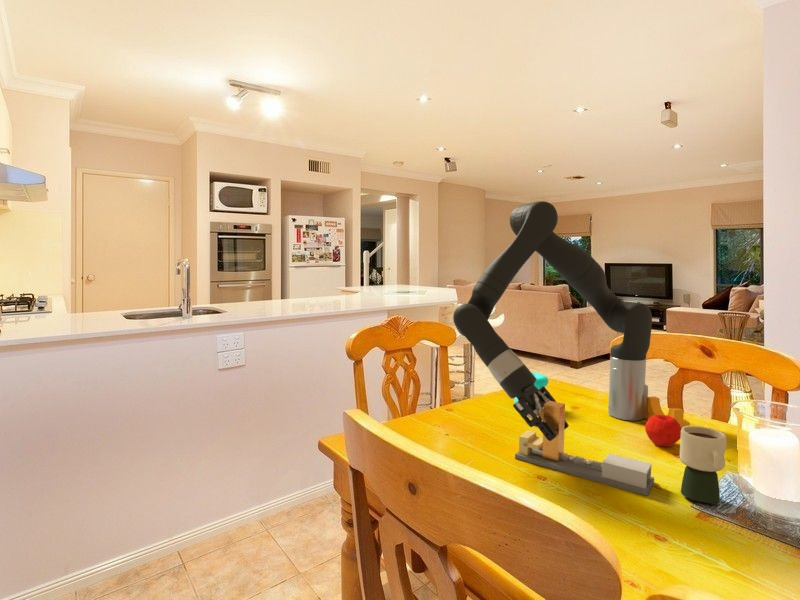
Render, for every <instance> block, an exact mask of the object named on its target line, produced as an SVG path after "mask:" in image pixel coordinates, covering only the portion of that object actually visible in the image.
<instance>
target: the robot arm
mask: <svg viewBox="0 0 800 600" xmlns="http://www.w3.org/2000/svg"><path fill="white" fill-rule="evenodd" d="M556 209H557V208H556V207H555V206H554V205H553V204H552V203H550V202H548V201H545V200H543V201H540V200H538V201H534V202H530V203H525V204H522V205H519V206H516V207H515V208H514V209H513V210H512V211H511V213H510V215H509V225H510V229H511V230H512V232H513V233H514V234H515V236H516V237H515V238H514V239H513V240H512V242H511V243H510V244H509V245H508V246H507V247H506V248H505V249H504V250H503V251H502V252H501V253H500V254H499V255H498V256H497V257H495V258H494V259H493V261H491V263H490V264H489V265H488V266H487V267H486V269H485V270H484V271H483V273H482V274H481V275H480V277H479V279H478V280H477V281H476V283H475V285H474V286H473V289H472V293H471V296H470V297H469V300H468V302H467V303H462V304H460V305H459V306H457V307H456V309H455V310H454V312H453V317H452V320H453V324H454V326H455V328H456V330H457V332H458V333H459V334H460V335H461V336H463V337H465V338H466V339H467V341H468V342H469V343H470V344H471V345H472V347H473V349H474V351H475V353H476V354H477V356H478V358H479V359H480V360H481V362H483V363H484V366H486V368H487V369H488V370H489V372H490V374H491V375H492V378H494V379H495V380H496V382H497V383H498V384H499V386H500V387H501V388H502V389H503V391H504V392H505V393H506V394H507V396H508V397H509V398H510V399H512V400H513V399H515V398H516V397H517V399H518V401H517V402H516V403H513V408H514V409H515V410H516V412H517V413H518V414H519V415H520V417H521V418H522V419H523V420H524V421H525V424H527V425H528V427H530V428H533V427H535V428H537V429H538V430H539V431H540V432H541V434H542V435H543V434H544V436H545V437H546V438H547V439H548V441H551V440H553V439H554V438H555V437H557V434H556V433H555V431H554V430H553V429H552V428H551V426H550V425H549V424H548V423H547V421H546V422H545V419H544V417H543V415H544V404H545V403H547V402H548V401H553V402H557V400H556V399H555V398H554V397H553V396H552V395H551V393H550V392H549V390H548V389H547V388H546V386H545V387H544V386H542V387H541V388H540V389H538V388H536V387H535V386H534V383H535V382H536V378H535V376H534V375H533V374H532V373H533V372H532V371H530V369H529V368H528V367H527V365H526V364H525V363H524V362H523V360H521V358H520V356H518V355H517V354H516V353H515V352H514V351H513V350H512V349H511V348H510V347H509V345H508V344H507V343H506V342H505V341H504V339H502V337H501V336H499V334H498V333H497V332H496V330H495V329H494V328H493V326H492V325H491V323H490V321H489V319H490V316H491V315H492V312H493V310H494V308H495V306H496V305H497V303H498V302H499V301H500V299H501V298H502V297H503V295H504V293H505V292H506V290H507V289H508V287H509V285H510V284H511V282H512V281H513V279H514V278H515V277H516V275H517V274H518V273H519V272H520V270H521V269H522V267H523V266H524V265H525V263H527V261H528V260H529V259H530V257H531V256H533V254H534V253H535V252H536V253H537V254H539V255H540V256H541V257H542V258H543V259H544V260H545V261H546V262H547V263H548V264H549V266H551V268H553V269H554V270H555V271H556V272H557V274H559V275H560V276H561V277H562V279H564V280H565V282H566V283H567V284H568V285H569V286H571V288H573V290H575V291H576V292H577V293H578V294H579V295H580V296H581V297H582V298H583V300H585V301H586V302H587V303H589V305H590V306H591V307H592V308H593V309H594V310H595V312H596V313H597V314H598V315H599V317H600V318H601V319H602V321H603V322H604V324H606V326H608V327H609V328H610V329H611V330H612V331H615V332H617V333H621V334H623V337H622V342H620V343H619V344H615V345H614V344H613V345H612V346H611V348H610V355H609V356H610V358H609V359H610V360H609V380H608V381H609V388H608V406H607V408H608V413H607V414H608V415H609V416H610V417H612V418H616V419H618V420H623V421H631V422H632V421H633V422H634V421H641V420H645V419H646V420H648V419H647V404H648V397H649V395H648V394H649V386H648V385H647V384H646V373H647V371H646V370H647V369H646V368H647V354H648V351H649V349H650V345H651V337H652V327H653V324H652V323H653V315H652V311H651V309H650V307H649V306H648V305H647V304H645V303H643V302H637V301H636V302H635V301H625V300H623V299H621V298H619V297H618V296H617V295H616V294H615V293H614V292H613V291H612V290H611V288H609V286H608V284H607V277H606V273H605V271H604V268H603V267H602V266H601V265H600V264H599V263H598V262H597V261H596V260H595V258H594V257H592V255H590V253H588V252H587V250H586V251H585V250H584V249H583V248H581V247H579V246H577V245H575V244H574V243H571V241H568V240H566V239H564V238H562V237H560V236H559V234H556V233H555V232H554V231H555V228H556V227H557V224H558V219H559V218H558V217H559V216H558V211H557V210H556ZM531 372H532V373H531ZM568 427H570V425H569V423H568V422H567V421H566V420H565V425H564V431H565V430H566V429H568Z"/></svg>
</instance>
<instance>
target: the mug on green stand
mask: <svg viewBox="0 0 800 600" xmlns="http://www.w3.org/2000/svg"><path fill="white" fill-rule="evenodd" d="M679 441H680V443H679V461H680V462H681V463H682V464H684V465H685V467H684V472H683V477H682V480H681V485H680V486H681V488H680V493H681V495H682V496H684V497H685V498H687V499H690V500H691V501H692V500H693V501H697V502H700V503H703V502H705V503H706V504H713V505H717V504H719V503H720V502H721V496H720V495H721V494H720V493H721V492H720V483H719V476H718V473H717V472H720V471H723V469H724V468H725V467H726V460H725V453H726V450H727V435H726V433H724V432H723V431H720V430H718V429H714V428H712V427H706V426H701V425H689V426H685V427H682V429H681V438H680V439H679ZM705 503H704V504H705Z"/></svg>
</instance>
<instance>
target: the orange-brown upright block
mask: <svg viewBox="0 0 800 600" xmlns="http://www.w3.org/2000/svg"><path fill="white" fill-rule="evenodd" d="M543 417H544V419H545V422H546V421H547V423H548V424H549V425H550V426H551V428H552V429H553V430H554V431H555V433H556V434H557V437H555V438H554V439H553V440H551V441H548V439H547V438H546V437H545V436H544V434H543V433H542V438H543V446H542V447H541V448H540V449H539V450H537V449H533V448H532V453H534V454H537V455H541V456H542V457H544V458H548V459H552V460H555V461H559V460H560V459H563V460H566V461H567V460H569V461H573V462H574V461H575V463H578V464H581V465H588V466H592V468H596V469H600V470H602V462H603V461H597V460H592V459H587V458H585V457H582V456H577V455H571V454H568V453H566V452H564V451H565V430H564V425H565V421H566V419H565V417H566V404H565V403H563V402H558V401H556V402H553V401H548V402H547V403H545V404H544V412H543ZM592 461H593V464H592Z"/></svg>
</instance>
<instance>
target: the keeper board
mask: <svg viewBox="0 0 800 600" xmlns="http://www.w3.org/2000/svg"><path fill="white" fill-rule="evenodd" d="M518 437H519V438H518V441H519V442H518V451H517V452H516V453H515V454H514V459H515V460H516V459H517V460H519V461H523V462H526V463H530V464H533V465H536V466H540V467H544V468H547V469H550V470H554V471H556V472H557V471H558V472H561V473H565V474H568V475H572V476H574V477H575V476H576V477H579V478H582V479H586V480H589V481H593V482H596V483H600V484H604V485H607V486H611V487H614V488H617V489H620V490H624V491H627V492H630V493H631V492H632V493H636V494H639V495H642V496H645V497H648V496H649V494H650V492H651V490H652V488H653V486H654V483H655V477H653V476H652V463H651V462H646V461H643V460H640V459H639V460H638V459H634V458H631V457H627V456H621V455H618V454H614V453H608V454H607V455H606V456H605V458H604V459H603V460H602V461H601V462H602V470H600V469H596V468H592V466H588V465H581V464H578V463H575V461H574V462H573V461H569V460H567V461H566V460H563V459H560V460H559V461H555V460H552V459H548V458H544V457H542V456H541V455H537V454H534V453H532V448H533V449H537V450H539V449H540V448H541V447H542V446H543V436H542V437H541V436H538V435H537V431H534V430H530V429H528V430H526V431H524V432H523V433H522V434H521V435H519V436H518ZM591 461H592V464H593V460H591Z"/></svg>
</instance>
